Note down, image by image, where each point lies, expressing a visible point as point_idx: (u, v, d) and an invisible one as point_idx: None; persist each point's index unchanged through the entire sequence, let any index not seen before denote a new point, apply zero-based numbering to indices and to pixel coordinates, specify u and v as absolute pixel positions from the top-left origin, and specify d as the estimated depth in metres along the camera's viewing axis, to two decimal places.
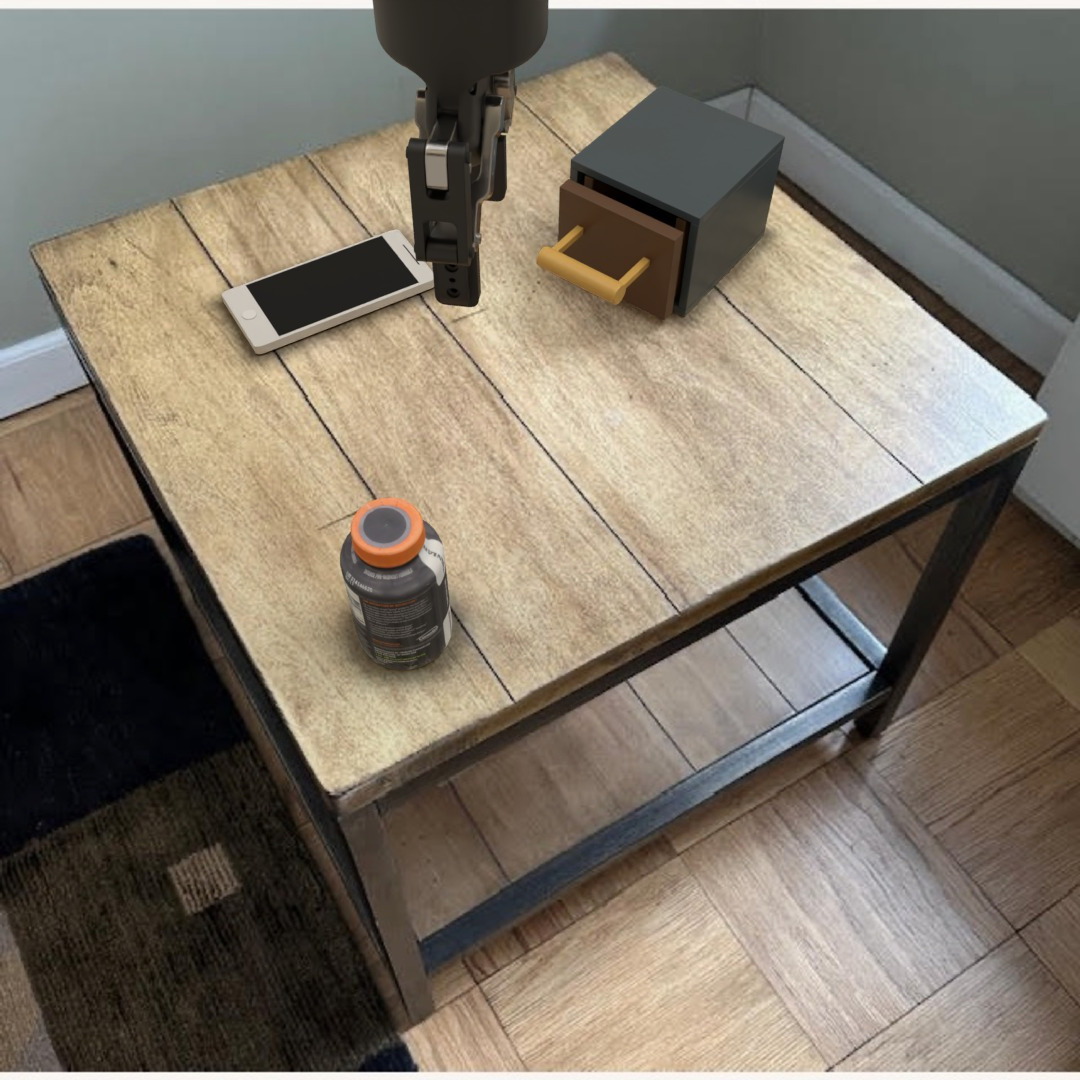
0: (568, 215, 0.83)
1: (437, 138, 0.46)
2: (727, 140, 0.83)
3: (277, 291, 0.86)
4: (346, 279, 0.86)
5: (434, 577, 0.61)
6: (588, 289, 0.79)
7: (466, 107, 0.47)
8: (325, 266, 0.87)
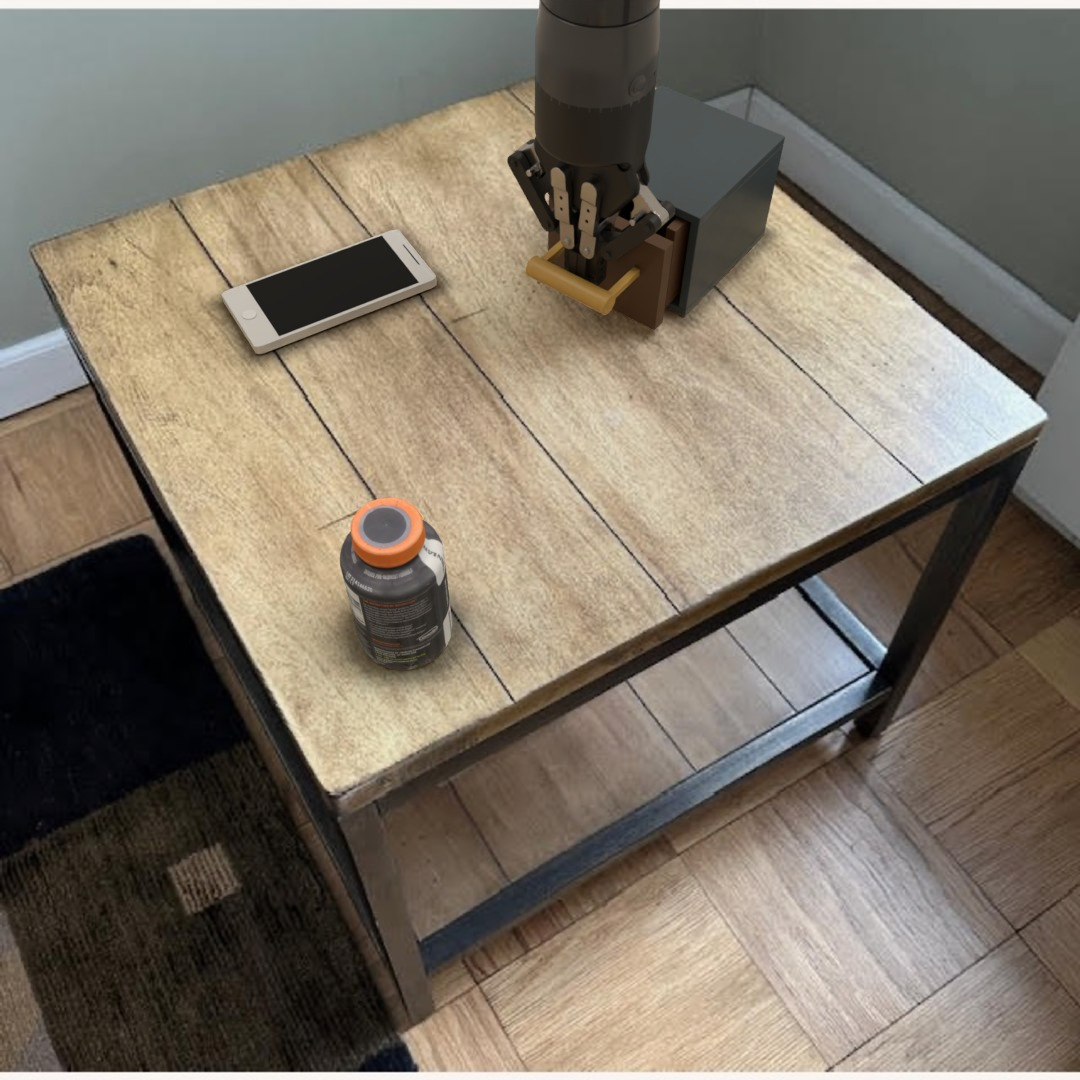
0: None
1: (656, 209, 0.72)
2: (727, 140, 0.83)
3: (277, 291, 0.86)
4: (346, 279, 0.86)
5: (434, 577, 0.61)
6: (577, 299, 0.79)
7: None
8: (325, 266, 0.87)
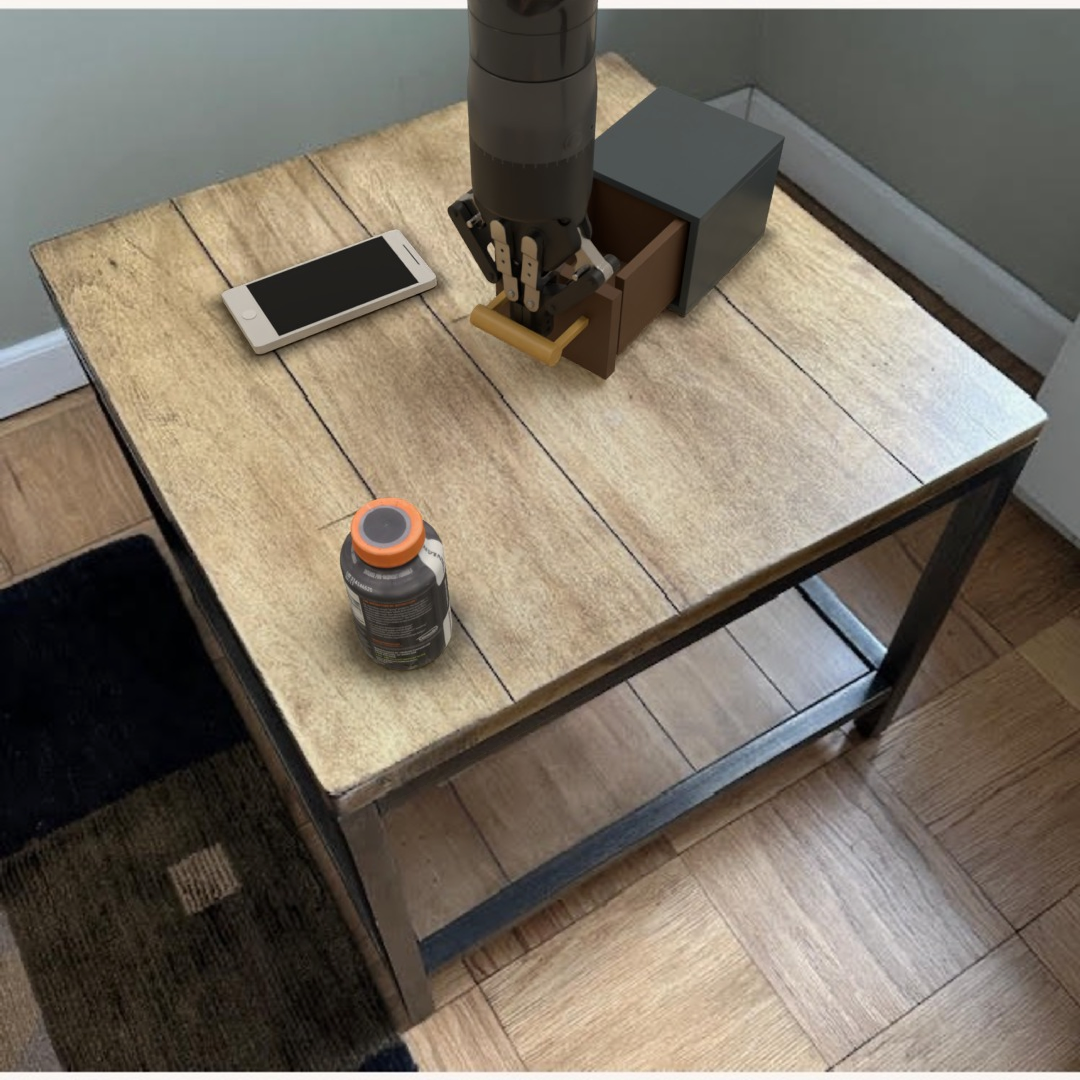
0: None
1: (599, 264, 0.69)
2: (727, 140, 0.83)
3: (277, 291, 0.86)
4: (346, 279, 0.86)
5: (434, 577, 0.61)
6: (522, 350, 0.76)
7: None
8: (325, 266, 0.87)
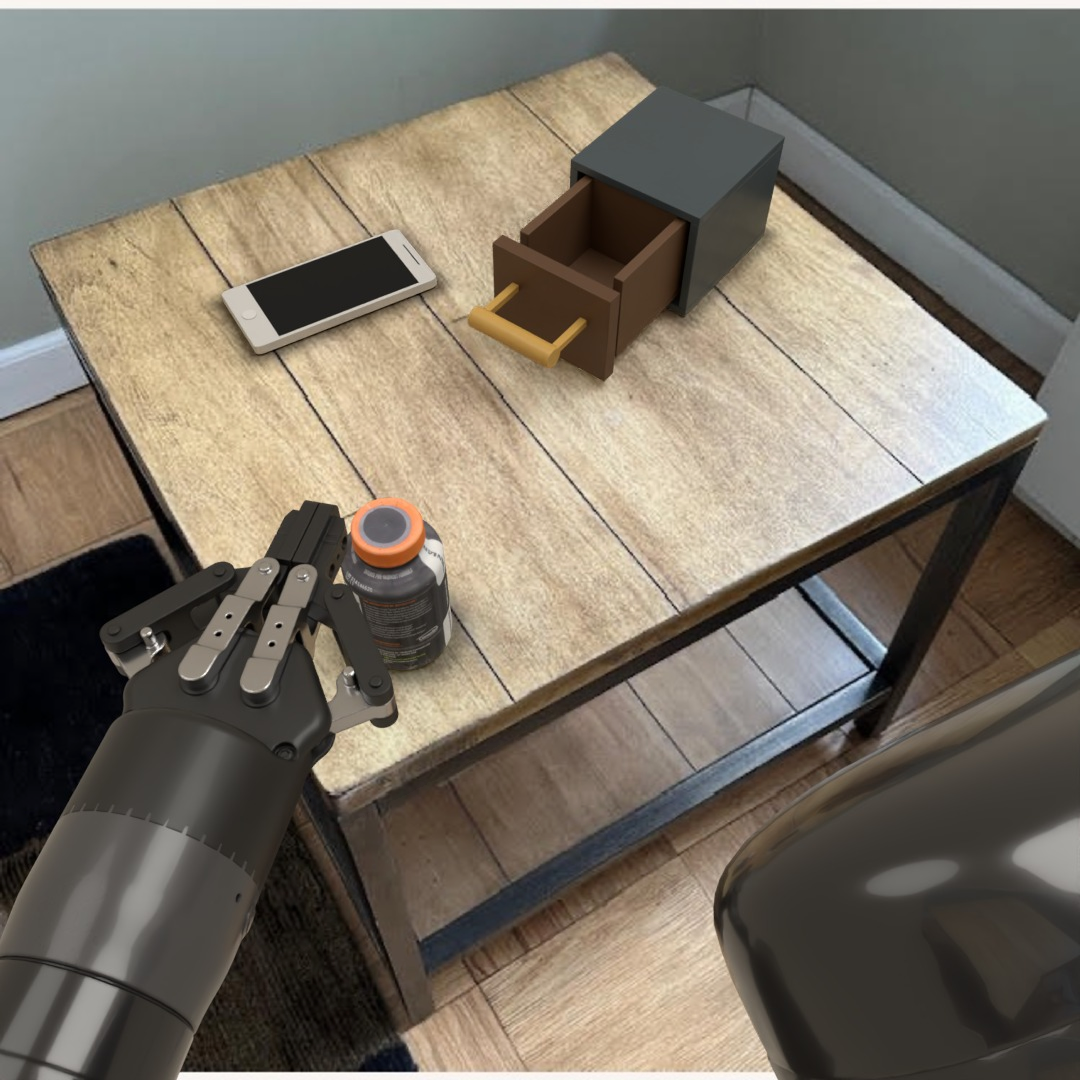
0: (502, 272, 0.79)
1: (371, 714, 0.43)
2: (727, 140, 0.83)
3: (277, 291, 0.86)
4: (346, 279, 0.86)
5: (434, 577, 0.61)
6: (520, 352, 0.76)
7: (308, 743, 0.41)
8: (325, 266, 0.87)
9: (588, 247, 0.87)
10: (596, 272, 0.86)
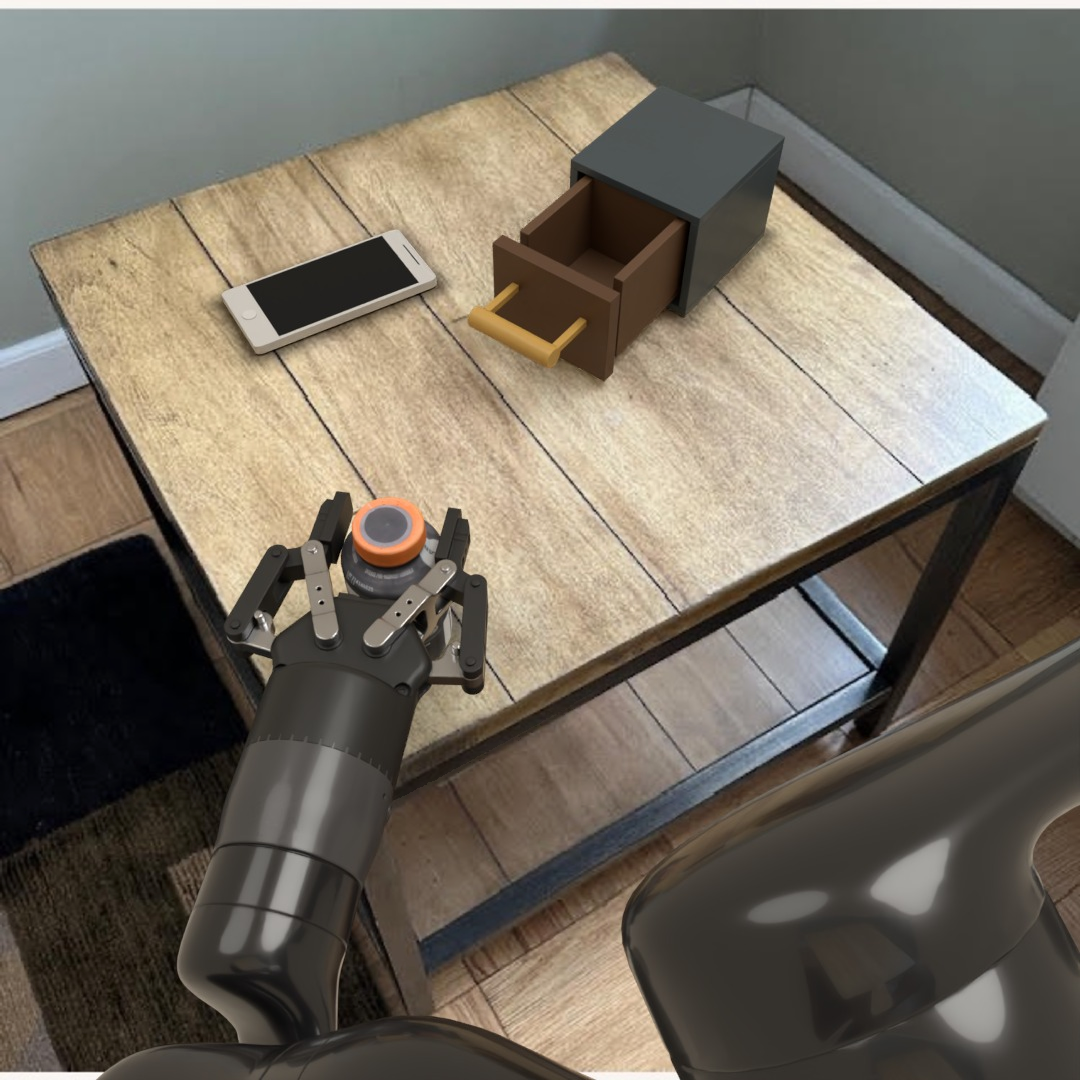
0: (502, 272, 0.79)
1: (461, 682, 0.56)
2: (727, 140, 0.83)
3: (277, 291, 0.86)
4: (346, 279, 0.86)
5: None
6: (520, 352, 0.76)
7: (418, 682, 0.55)
8: (325, 266, 0.87)
9: (588, 247, 0.87)
10: (596, 272, 0.86)
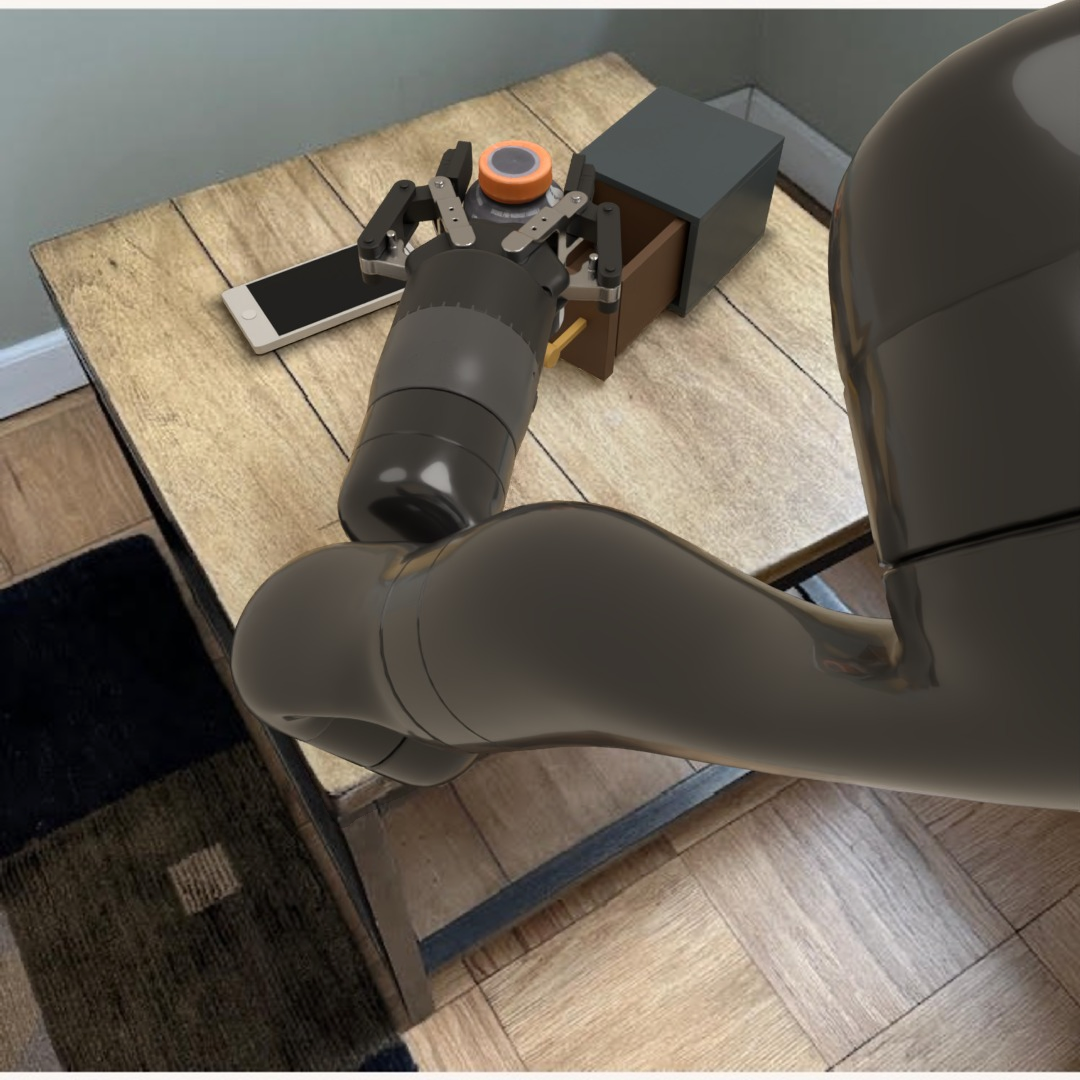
0: None
1: (598, 295, 0.55)
2: (727, 140, 0.83)
3: (277, 291, 0.86)
4: (346, 279, 0.86)
5: None
6: None
7: (557, 288, 0.54)
8: (325, 266, 0.87)
9: (588, 247, 0.87)
10: None
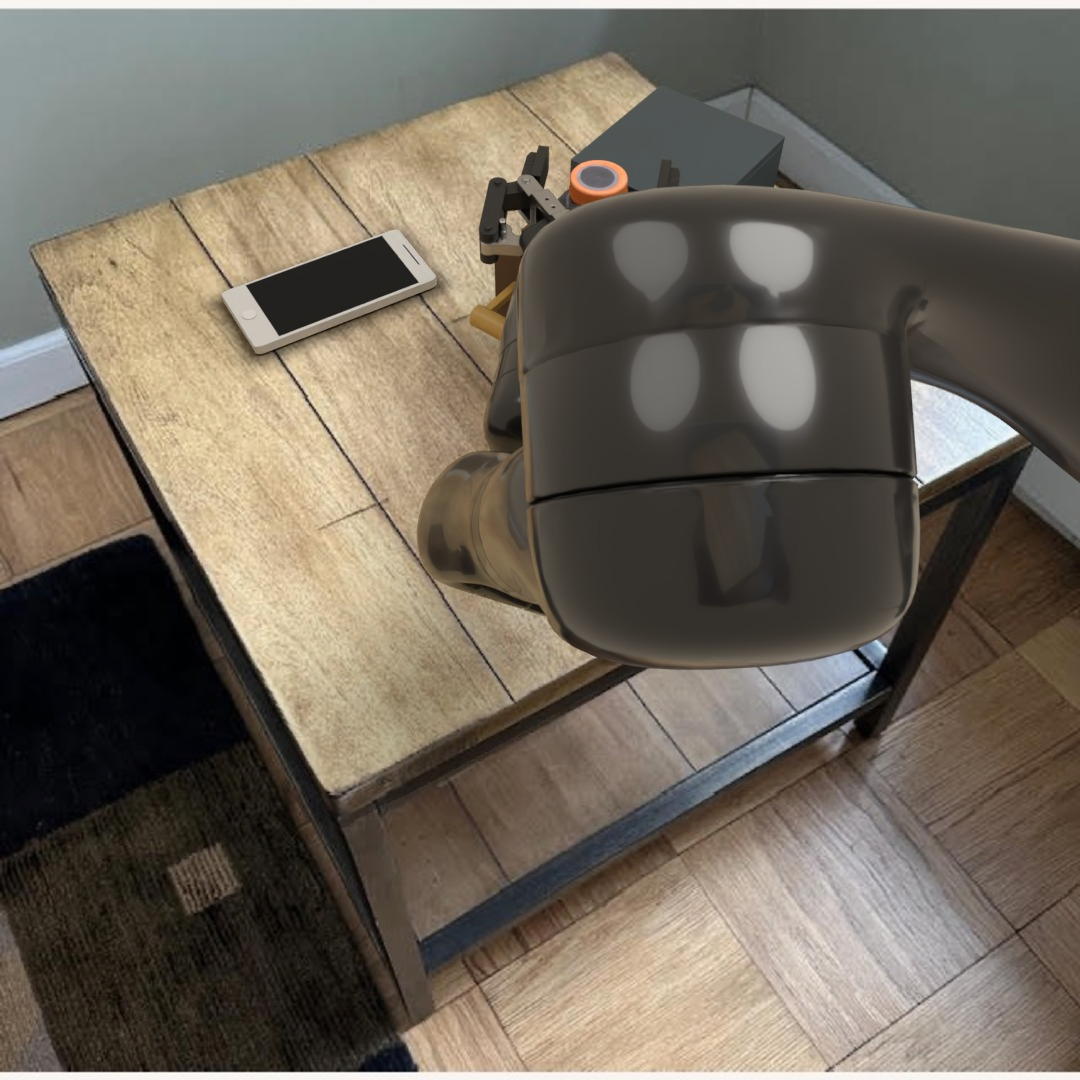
0: (504, 271, 0.79)
1: None
2: (727, 140, 0.83)
3: (277, 291, 0.86)
4: (346, 279, 0.86)
5: None
6: None
7: None
8: (325, 266, 0.87)
9: None
10: None
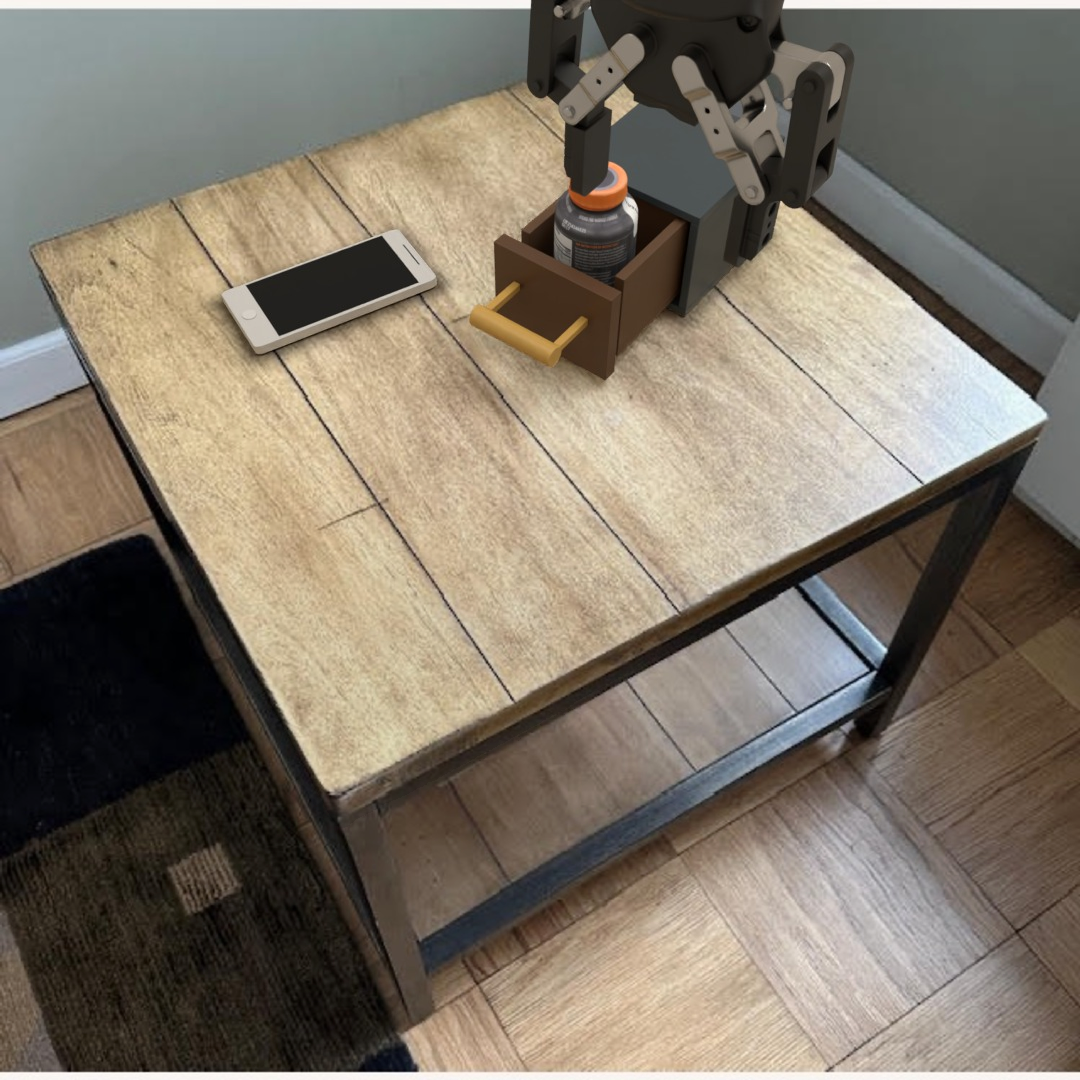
0: (504, 271, 0.79)
1: (812, 58, 0.41)
2: None
3: (277, 291, 0.86)
4: (346, 279, 0.86)
5: (633, 225, 0.76)
6: (522, 351, 0.76)
7: (782, 23, 0.42)
8: (325, 266, 0.87)
9: None
10: None
